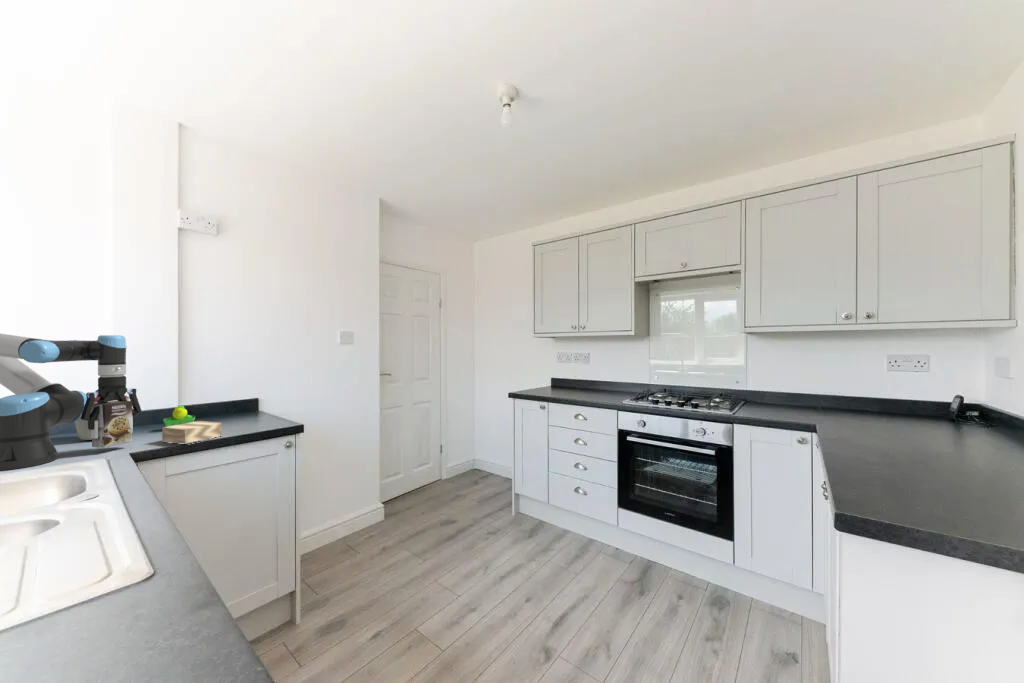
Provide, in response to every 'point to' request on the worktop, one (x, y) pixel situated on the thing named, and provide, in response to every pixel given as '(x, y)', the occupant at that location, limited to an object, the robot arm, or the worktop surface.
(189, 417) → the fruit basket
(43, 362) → the robot arm
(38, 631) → the worktop surface
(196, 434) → the oak block
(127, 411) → the coffee box
